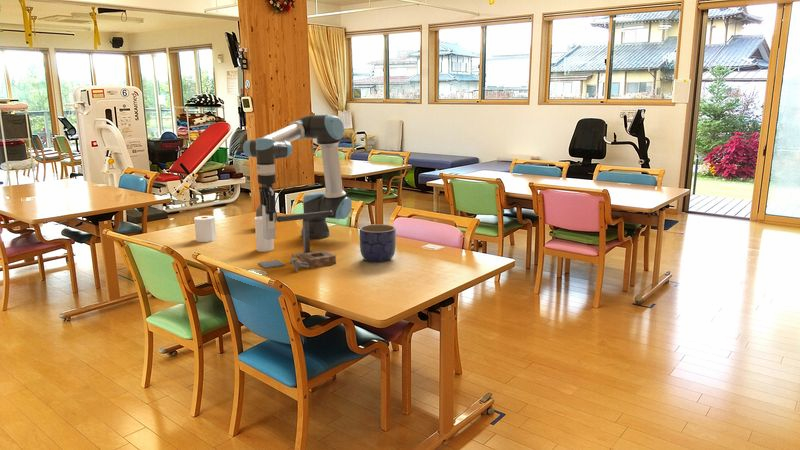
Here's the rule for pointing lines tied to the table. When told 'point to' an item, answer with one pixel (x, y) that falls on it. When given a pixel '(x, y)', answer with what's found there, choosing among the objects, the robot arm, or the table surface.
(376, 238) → the planter
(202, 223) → the toilet paper
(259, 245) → the cup
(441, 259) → the table surface
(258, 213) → the decorative egg
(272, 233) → the peg
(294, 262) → the elephant figurine
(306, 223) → the handle post
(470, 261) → the table surface
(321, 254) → the eye block
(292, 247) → the table surface
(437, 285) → the table surface
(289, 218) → the dark grey bar
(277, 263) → the mat
